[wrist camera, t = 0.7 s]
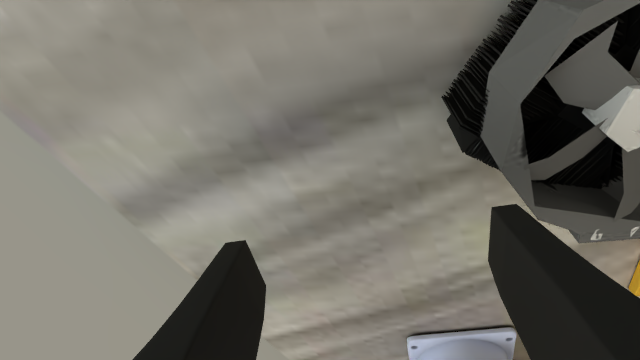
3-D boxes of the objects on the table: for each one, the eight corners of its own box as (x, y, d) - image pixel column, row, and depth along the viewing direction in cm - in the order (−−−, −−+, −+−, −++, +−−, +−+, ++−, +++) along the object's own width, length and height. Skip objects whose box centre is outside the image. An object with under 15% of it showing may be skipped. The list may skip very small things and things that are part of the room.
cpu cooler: (726, -153, 8) (959, 55, 11) (585, -130, 13) (769, 11, 15) (440, 184, 14) (634, 272, 16) (413, 115, 18) (567, 191, 21)
